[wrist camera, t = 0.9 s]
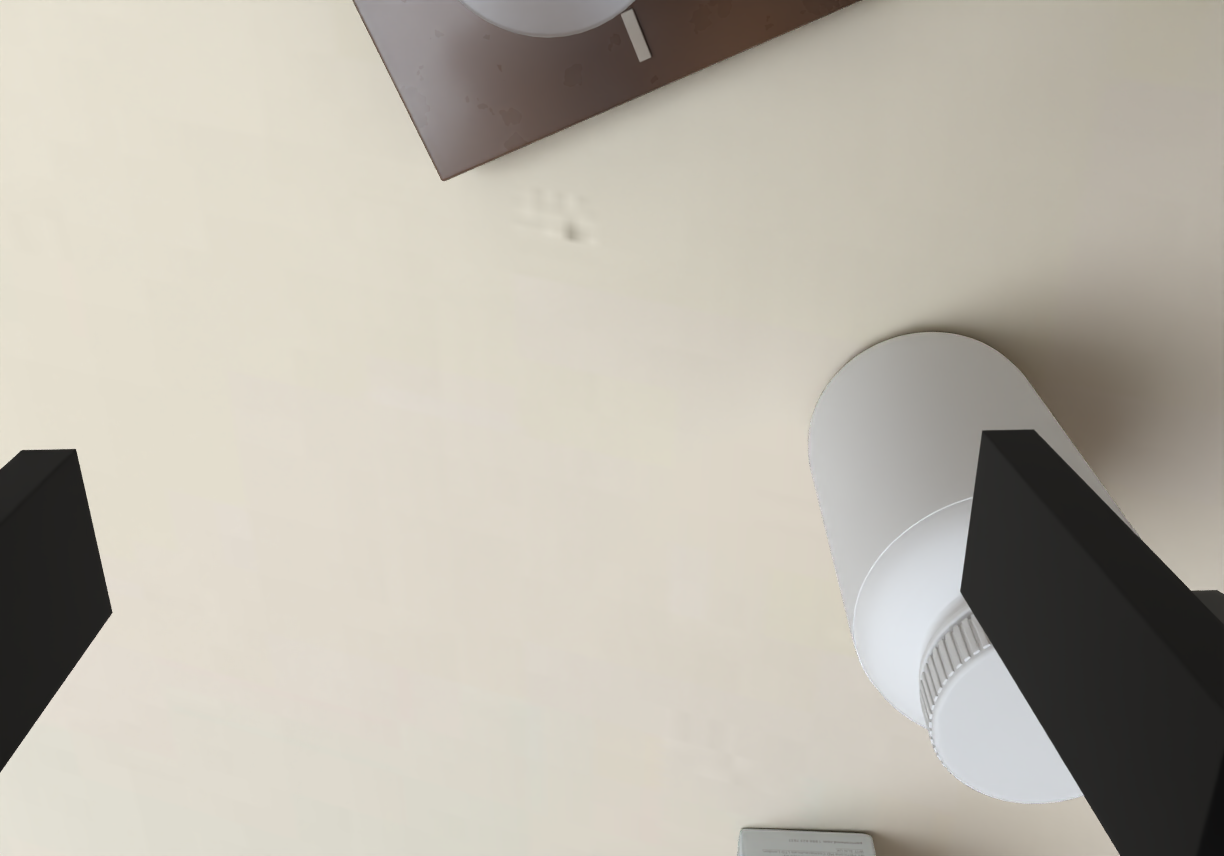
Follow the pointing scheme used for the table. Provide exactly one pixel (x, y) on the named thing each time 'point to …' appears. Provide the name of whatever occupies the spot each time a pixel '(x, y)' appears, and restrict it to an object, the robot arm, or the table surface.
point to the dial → (547, 15)
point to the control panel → (553, 65)
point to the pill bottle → (932, 546)
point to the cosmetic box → (803, 843)
